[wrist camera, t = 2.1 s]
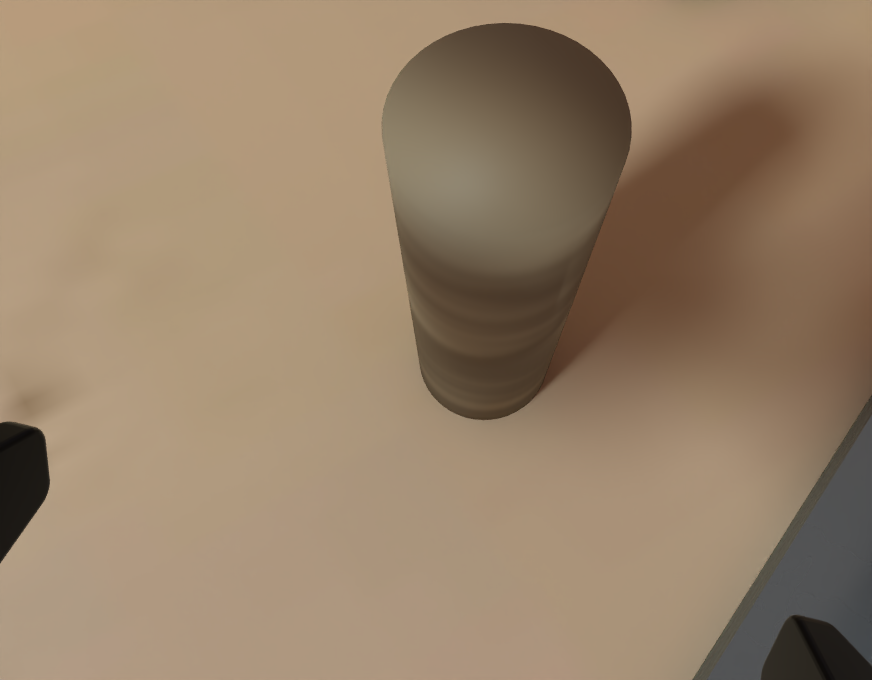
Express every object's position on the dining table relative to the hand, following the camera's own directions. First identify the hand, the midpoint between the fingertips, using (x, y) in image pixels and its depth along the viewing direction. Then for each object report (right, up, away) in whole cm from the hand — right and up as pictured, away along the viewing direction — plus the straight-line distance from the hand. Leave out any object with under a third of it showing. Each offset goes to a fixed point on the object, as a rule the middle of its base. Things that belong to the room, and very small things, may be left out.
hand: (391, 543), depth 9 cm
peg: (+2, +2, +14) cm, 15 cm away
